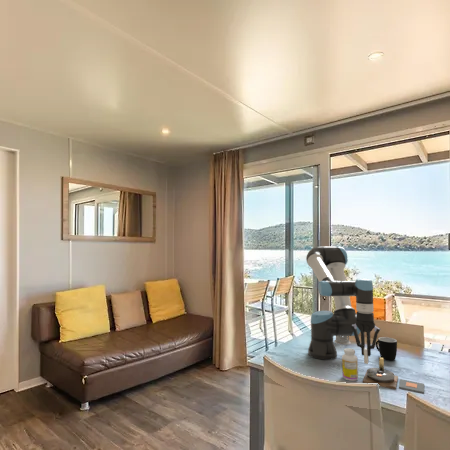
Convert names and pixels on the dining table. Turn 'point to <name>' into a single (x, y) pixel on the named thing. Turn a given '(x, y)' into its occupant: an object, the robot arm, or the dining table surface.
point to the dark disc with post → (380, 373)
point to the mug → (387, 348)
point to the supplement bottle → (350, 365)
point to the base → (383, 384)
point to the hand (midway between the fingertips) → (366, 362)
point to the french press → (342, 340)
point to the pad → (411, 386)
